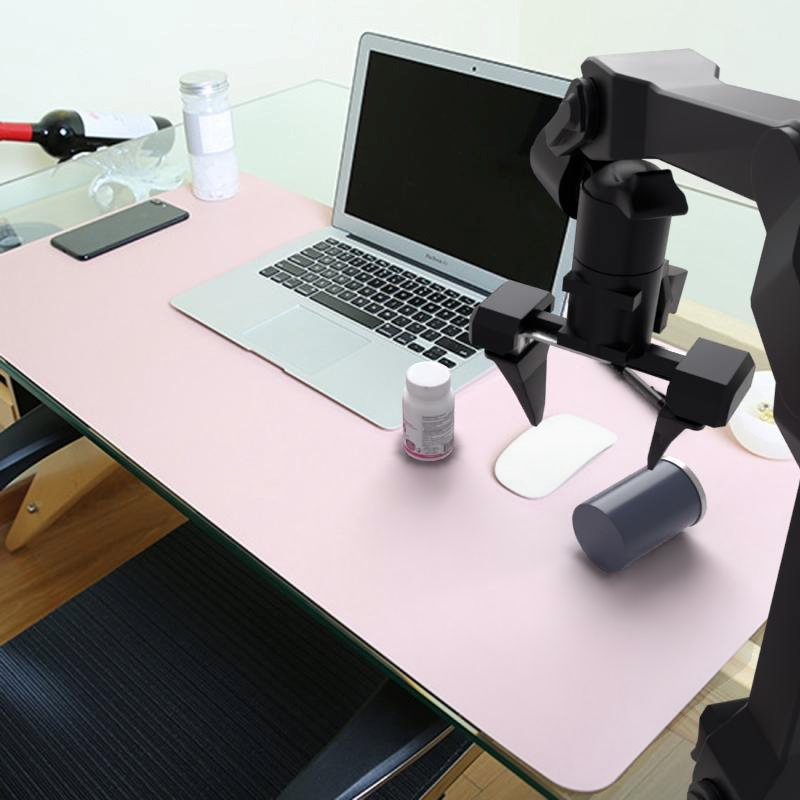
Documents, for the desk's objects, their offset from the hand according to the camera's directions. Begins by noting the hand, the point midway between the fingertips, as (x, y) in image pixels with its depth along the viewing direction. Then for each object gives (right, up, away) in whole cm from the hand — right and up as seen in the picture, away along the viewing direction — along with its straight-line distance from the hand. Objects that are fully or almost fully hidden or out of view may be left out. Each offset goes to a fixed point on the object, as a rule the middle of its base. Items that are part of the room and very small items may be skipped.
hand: (592, 444), depth 70 cm
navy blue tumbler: (+2, -8, +5) cm, 10 cm away
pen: (+10, +5, +27) cm, 29 cm away
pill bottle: (-12, -1, +20) cm, 23 cm away
